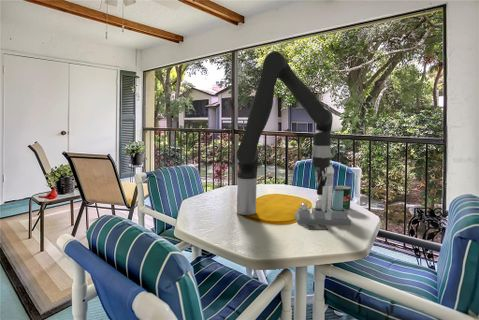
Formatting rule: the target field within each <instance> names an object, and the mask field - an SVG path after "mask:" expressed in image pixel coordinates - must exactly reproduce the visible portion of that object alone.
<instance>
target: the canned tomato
mask: <svg viewBox="0 0 479 320" xmlns="http://www.w3.org/2000/svg"><path fill="white" fill-rule="evenodd" d="M334 188H343V191H344V194H343V208H344V209H345V210H346V211H349V210H350V209H351V195H352V187H351V186H349V185H344V184H343V185H341V184H339V185H335V186H334Z"/></svg>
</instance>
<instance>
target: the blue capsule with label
mask: <svg viewBox="0 0 479 320" xmlns="http://www.w3.org/2000/svg"><path fill="white" fill-rule="evenodd" d="M343 194H344V191H343V188H335V187H333V199H332V211H342V209H343Z"/></svg>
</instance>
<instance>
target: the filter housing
mask: <svg viewBox="0 0 479 320" xmlns="http://www.w3.org/2000/svg"><path fill="white" fill-rule="evenodd" d="M348 213H349V212H348V210H345V209H344V208H343V209H342V211H332V207H327V212H325V211H324V209H323V208H322V211H315V207H312V208H311V210H310V209H309V207H307V210H301V207H297V212H294V218H296V219H295V221H296V223H297V224H298V225H303V224H304V225H307V224H315V225H337V226H340V225H341V226H351V225H352V219H351V218H349V215H348Z"/></svg>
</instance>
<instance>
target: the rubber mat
mask: <svg viewBox="0 0 479 320" xmlns="http://www.w3.org/2000/svg"><path fill="white" fill-rule="evenodd" d="M306 227H307V229H308V230H309V231H310V230H313V231H315V230H316V231H329V228H328V226H327V224H306Z"/></svg>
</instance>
